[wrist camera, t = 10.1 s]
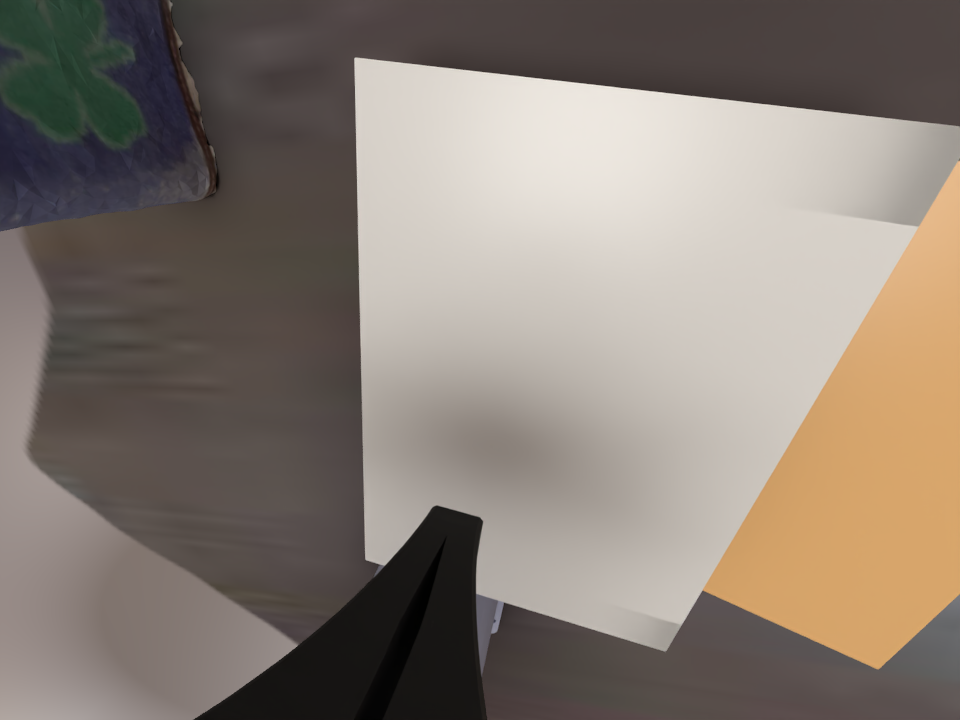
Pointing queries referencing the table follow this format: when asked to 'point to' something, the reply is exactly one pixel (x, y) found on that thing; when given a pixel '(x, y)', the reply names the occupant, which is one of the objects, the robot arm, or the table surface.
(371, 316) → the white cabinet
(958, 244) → the door
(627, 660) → the table surface
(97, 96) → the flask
